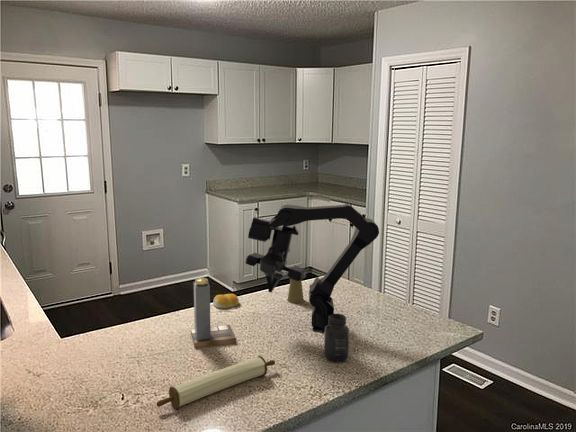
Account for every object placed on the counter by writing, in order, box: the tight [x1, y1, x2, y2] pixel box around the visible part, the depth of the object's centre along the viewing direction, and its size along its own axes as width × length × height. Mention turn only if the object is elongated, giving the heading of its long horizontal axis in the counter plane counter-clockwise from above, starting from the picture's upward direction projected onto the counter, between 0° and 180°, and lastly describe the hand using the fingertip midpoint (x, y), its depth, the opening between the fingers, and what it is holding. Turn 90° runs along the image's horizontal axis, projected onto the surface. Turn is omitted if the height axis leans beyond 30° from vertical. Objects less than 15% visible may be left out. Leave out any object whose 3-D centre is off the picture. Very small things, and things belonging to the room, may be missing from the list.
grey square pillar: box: [193, 277, 211, 340], centre depth 139 cm, size 4×9×17 cm, turn 17°
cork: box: [286, 277, 305, 305], centre depth 172 cm, size 6×6×11 cm
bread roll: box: [212, 293, 240, 309], centre depth 169 cm, size 8×9×4 cm
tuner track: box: [190, 324, 237, 349], centre depth 142 cm, size 12×10×2 cm
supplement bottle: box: [323, 313, 350, 363], centre depth 130 cm, size 7×7×12 cm
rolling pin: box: [156, 355, 276, 410], centre depth 114 cm, size 32×6×5 cm, turn 127°
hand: (270, 291), depth 149 cm, fingers closed
